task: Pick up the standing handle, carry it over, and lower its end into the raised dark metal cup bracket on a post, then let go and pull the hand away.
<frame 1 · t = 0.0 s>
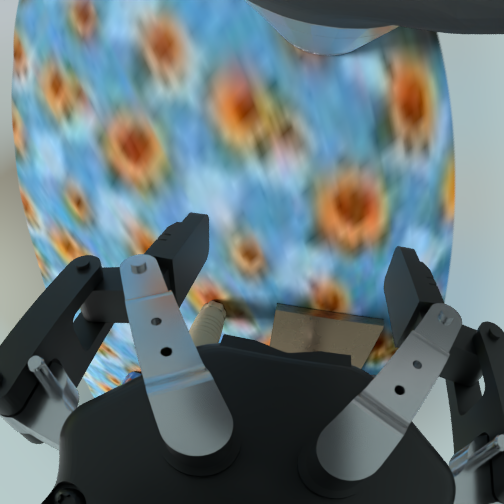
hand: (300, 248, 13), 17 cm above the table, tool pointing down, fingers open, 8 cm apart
cup bracket: (326, 327, 39), on the table
handle: (215, 307, 41), on the table
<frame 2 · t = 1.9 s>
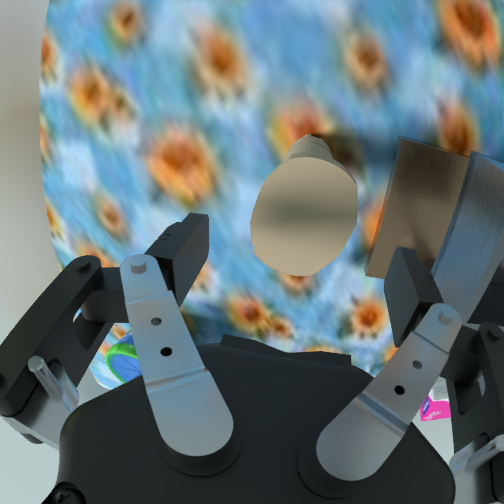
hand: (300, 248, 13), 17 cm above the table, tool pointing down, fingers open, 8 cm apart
cup bracket: (453, 182, 25), on the table
handle: (310, 149, 27), on the table
snack cup: (166, 324, 45), on the table
supplement box: (433, 340, 36), on the table
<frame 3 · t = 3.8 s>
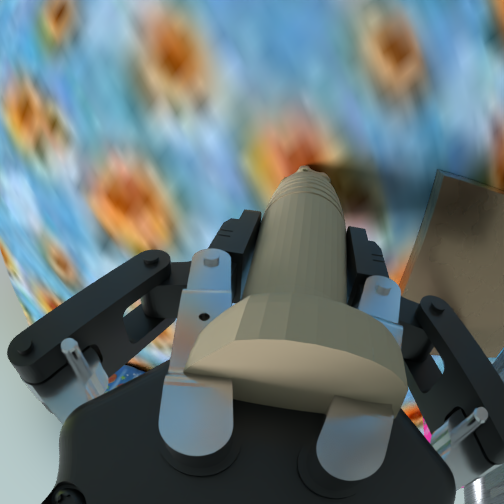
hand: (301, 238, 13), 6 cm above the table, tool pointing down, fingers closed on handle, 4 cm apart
cup bracket: (500, 231, 17), on the table
handle: (307, 188, 19), on the table, touching gripper
snack cup: (138, 378, 36), on the table
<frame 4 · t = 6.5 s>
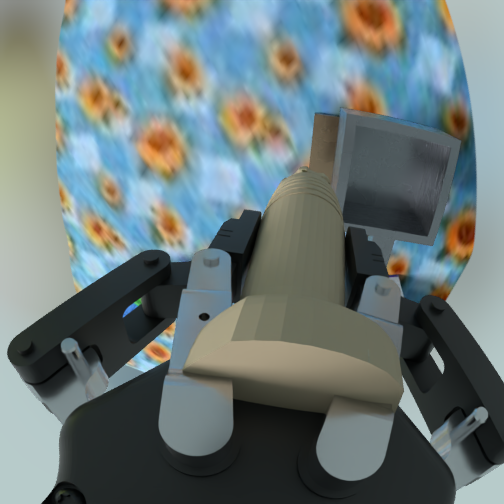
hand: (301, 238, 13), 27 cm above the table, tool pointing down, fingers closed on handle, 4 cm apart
cup bracket: (366, 144, 35), on the table
handle: (306, 188, 19), point 21 cm above the table, touching gripper
when the fingers open (19 cm above the table, at t = 9.3 s): handle drops 1 cm, resting on cup bracket.
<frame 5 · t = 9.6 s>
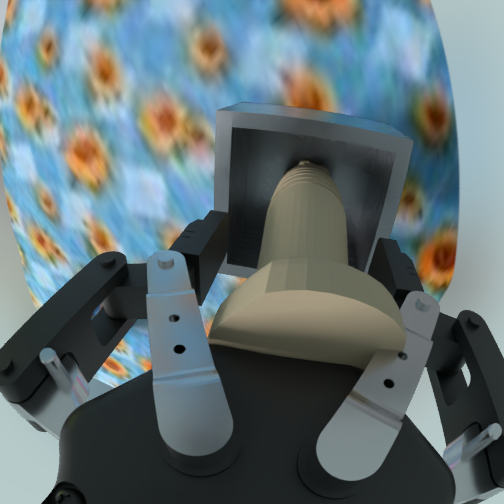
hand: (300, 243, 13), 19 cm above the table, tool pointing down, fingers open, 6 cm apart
cup bracket: (310, 147, 29), on the table
handle: (307, 180, 20), point 11 cm above the table, touching cup bracket
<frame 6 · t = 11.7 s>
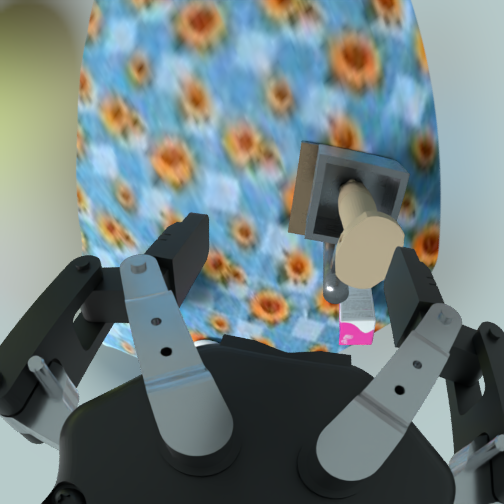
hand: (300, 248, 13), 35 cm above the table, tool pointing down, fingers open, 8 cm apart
cup bracket: (344, 168, 44), on the table
handle: (351, 190, 35), point 11 cm above the table, touching cup bracket
supplement box: (353, 289, 55), on the table
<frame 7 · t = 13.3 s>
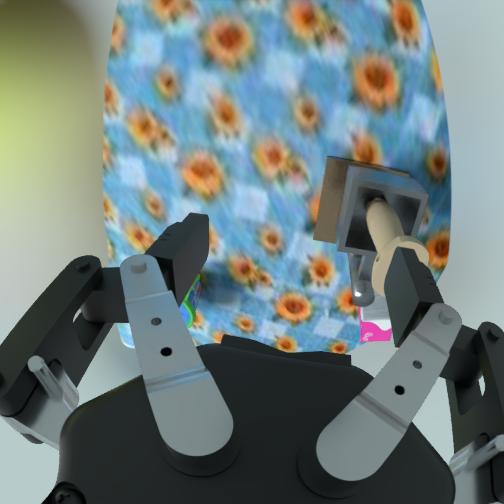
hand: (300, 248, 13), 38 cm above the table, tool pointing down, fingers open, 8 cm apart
cup bracket: (365, 180, 47), on the table
handle: (376, 205, 38), point 11 cm above the table, touching cup bracket
snack cup: (186, 281, 67), on the table
supplement box: (371, 290, 58), on the table
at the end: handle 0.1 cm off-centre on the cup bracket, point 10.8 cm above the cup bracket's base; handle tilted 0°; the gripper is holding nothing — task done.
